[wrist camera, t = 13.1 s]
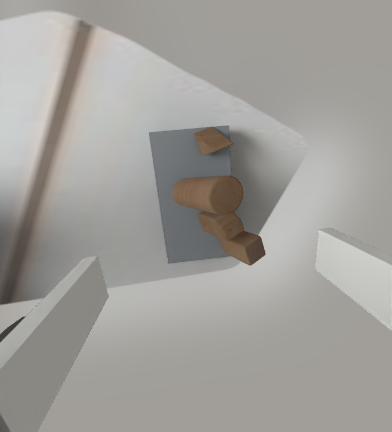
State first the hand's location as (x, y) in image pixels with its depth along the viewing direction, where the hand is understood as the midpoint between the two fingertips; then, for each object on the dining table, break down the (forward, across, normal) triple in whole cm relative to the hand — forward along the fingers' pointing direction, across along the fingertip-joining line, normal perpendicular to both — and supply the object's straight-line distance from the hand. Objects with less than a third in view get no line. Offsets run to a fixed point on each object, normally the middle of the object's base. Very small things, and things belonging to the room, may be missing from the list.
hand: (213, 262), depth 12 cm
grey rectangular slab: (+22, 0, 0) cm, 22 cm away
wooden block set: (+19, +3, 0) cm, 19 cm away
